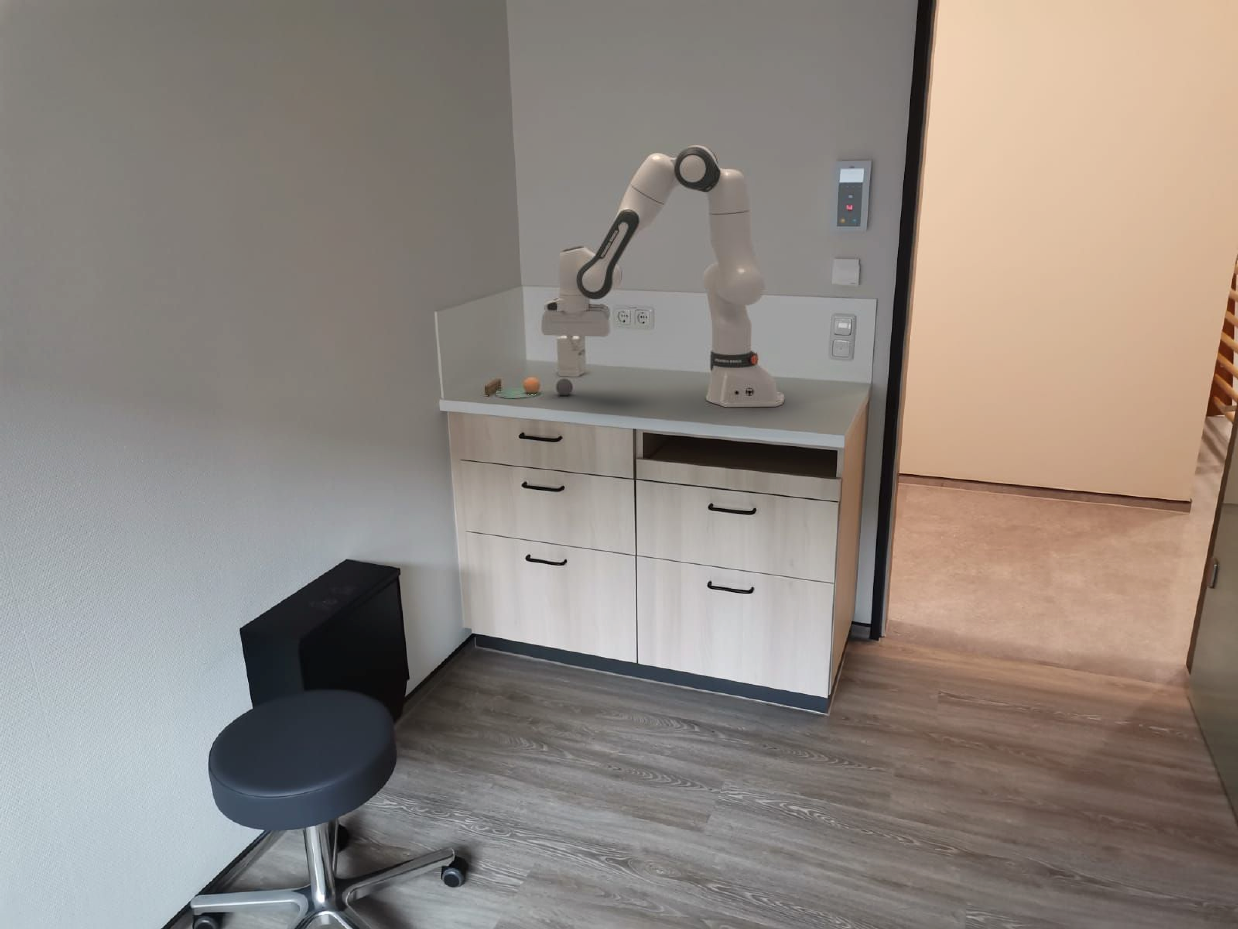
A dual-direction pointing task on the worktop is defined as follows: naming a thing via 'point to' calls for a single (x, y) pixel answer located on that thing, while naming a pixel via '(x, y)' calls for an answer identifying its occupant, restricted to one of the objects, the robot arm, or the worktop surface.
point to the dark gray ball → (564, 386)
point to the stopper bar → (493, 387)
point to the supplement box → (570, 358)
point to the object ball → (531, 385)
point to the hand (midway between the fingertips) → (576, 350)
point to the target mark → (510, 393)
